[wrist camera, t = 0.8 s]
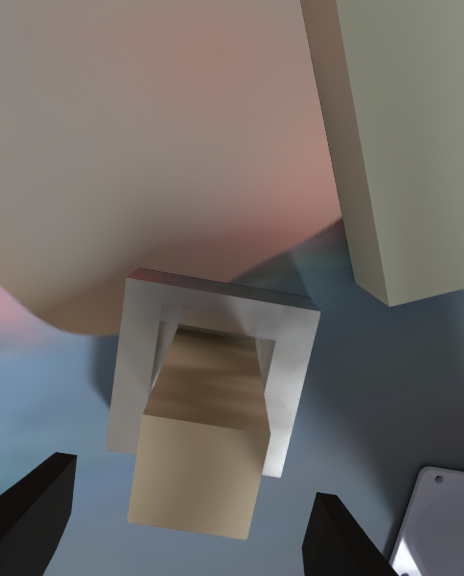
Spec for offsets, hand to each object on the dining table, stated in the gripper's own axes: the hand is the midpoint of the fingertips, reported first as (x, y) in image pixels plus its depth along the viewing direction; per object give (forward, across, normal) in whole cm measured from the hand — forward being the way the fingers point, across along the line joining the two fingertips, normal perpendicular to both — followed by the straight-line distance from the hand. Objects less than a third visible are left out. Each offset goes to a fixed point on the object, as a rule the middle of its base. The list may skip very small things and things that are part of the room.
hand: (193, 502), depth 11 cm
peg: (+9, 0, 0) cm, 9 cm away
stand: (+10, 0, 0) cm, 10 cm away
